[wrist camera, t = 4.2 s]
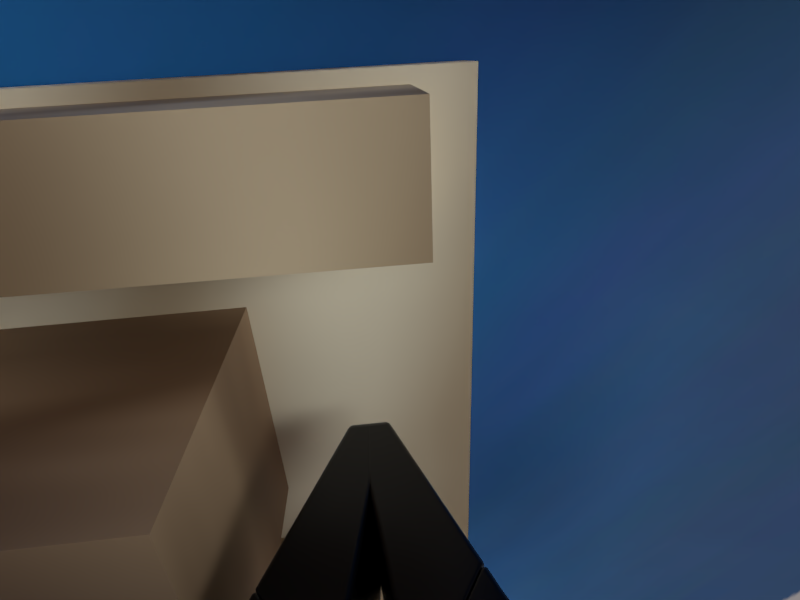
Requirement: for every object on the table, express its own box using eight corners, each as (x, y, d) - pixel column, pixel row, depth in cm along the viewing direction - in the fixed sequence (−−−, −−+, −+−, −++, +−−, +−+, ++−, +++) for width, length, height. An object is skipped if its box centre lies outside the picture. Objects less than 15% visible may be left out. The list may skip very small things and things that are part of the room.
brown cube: (246, 306, 8) (150, 533, 4) (288, 488, 10) (248, 754, 6) (-20, 331, 8) (-375, 594, 4) (77, 511, 10) (-100, 802, 6)
